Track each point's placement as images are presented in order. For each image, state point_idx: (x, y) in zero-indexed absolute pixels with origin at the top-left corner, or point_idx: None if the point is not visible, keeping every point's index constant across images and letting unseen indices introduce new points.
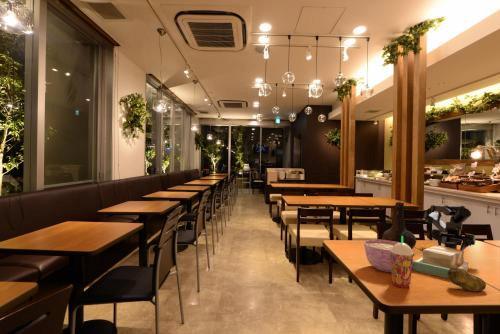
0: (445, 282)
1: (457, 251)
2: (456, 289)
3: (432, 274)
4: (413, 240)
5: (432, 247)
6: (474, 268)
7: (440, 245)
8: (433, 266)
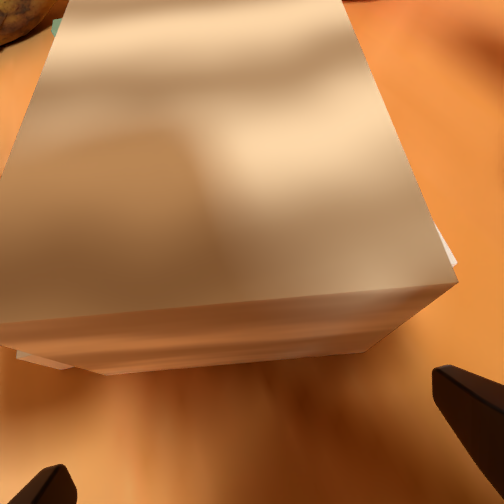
0: None
1: (38, 177)
2: (62, 9)
3: None
4: None
5: (356, 88)
6: (8, 469)
7: (495, 454)
8: None
